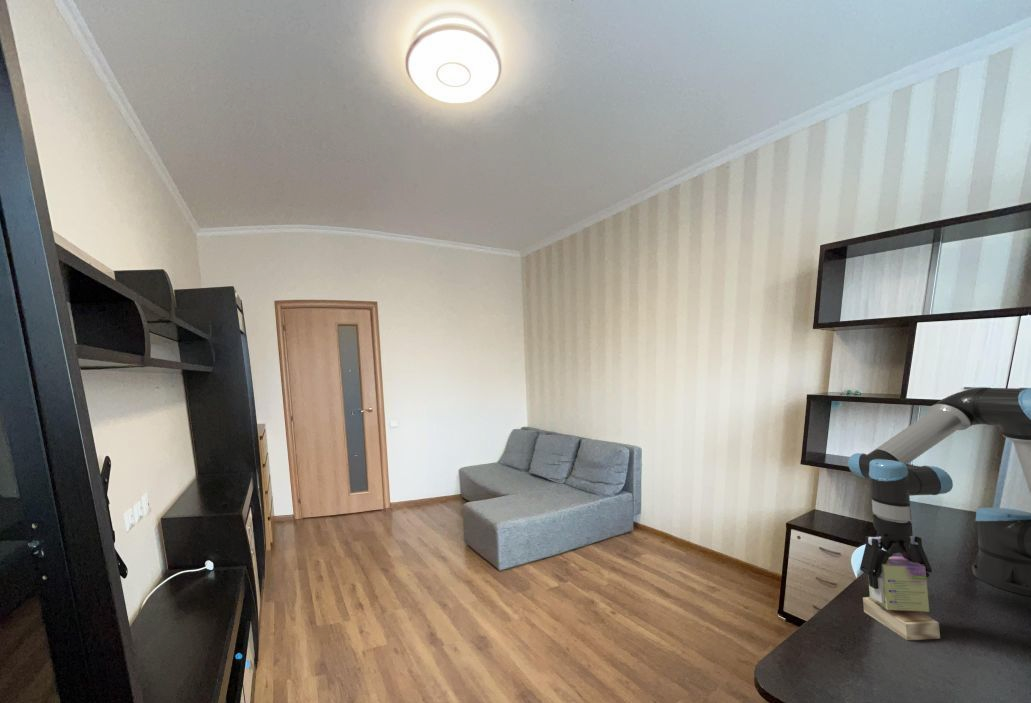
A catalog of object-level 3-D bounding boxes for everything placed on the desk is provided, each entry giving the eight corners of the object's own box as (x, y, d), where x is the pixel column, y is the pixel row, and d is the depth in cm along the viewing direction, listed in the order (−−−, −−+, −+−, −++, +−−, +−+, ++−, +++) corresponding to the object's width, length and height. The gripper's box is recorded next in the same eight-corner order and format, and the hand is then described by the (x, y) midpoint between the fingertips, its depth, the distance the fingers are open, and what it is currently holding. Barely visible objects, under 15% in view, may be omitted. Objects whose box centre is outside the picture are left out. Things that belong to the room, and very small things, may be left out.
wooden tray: (893, 610, 103) (892, 594, 104) (940, 638, 92) (938, 621, 93) (863, 611, 103) (862, 596, 103) (907, 640, 92) (905, 623, 92)
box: (908, 598, 100) (905, 555, 101) (930, 612, 95) (926, 566, 95) (868, 597, 101) (865, 554, 102) (887, 610, 96) (883, 565, 96)
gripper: (915, 510, 104) (922, 588, 102) (838, 513, 103) (844, 592, 101) (947, 521, 96) (955, 605, 95) (865, 524, 95) (871, 610, 94)
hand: (898, 598), depth 98 cm, fingers closed on box, 11 cm apart
